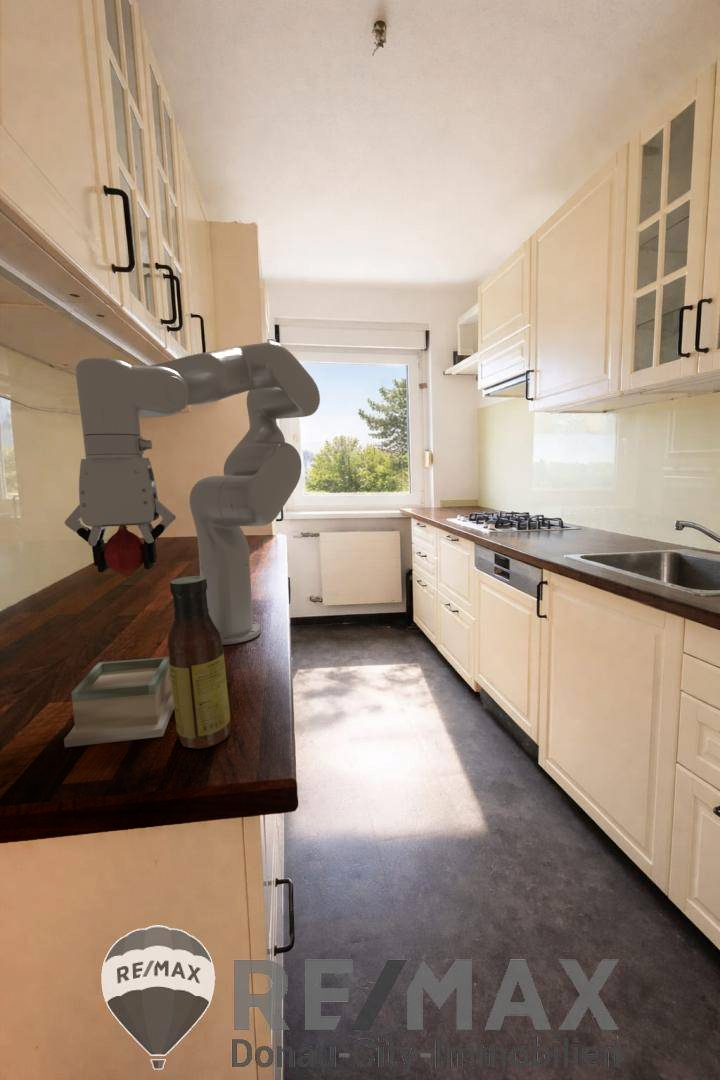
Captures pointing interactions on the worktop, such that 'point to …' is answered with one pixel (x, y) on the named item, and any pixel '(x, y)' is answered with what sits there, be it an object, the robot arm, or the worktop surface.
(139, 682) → the open box
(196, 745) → the sauce bottle
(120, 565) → the onion
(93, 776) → the worktop surface
